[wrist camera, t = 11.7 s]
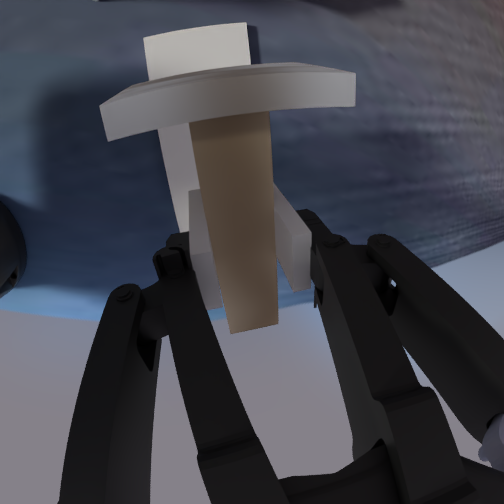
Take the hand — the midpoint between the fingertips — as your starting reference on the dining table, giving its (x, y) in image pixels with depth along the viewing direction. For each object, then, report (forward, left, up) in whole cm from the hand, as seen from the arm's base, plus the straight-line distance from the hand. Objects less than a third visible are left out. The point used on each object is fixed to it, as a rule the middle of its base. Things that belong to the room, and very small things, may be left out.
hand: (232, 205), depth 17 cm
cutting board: (0, +1, -16) cm, 16 cm away
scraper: (0, 0, 0) cm, 0 cm away
